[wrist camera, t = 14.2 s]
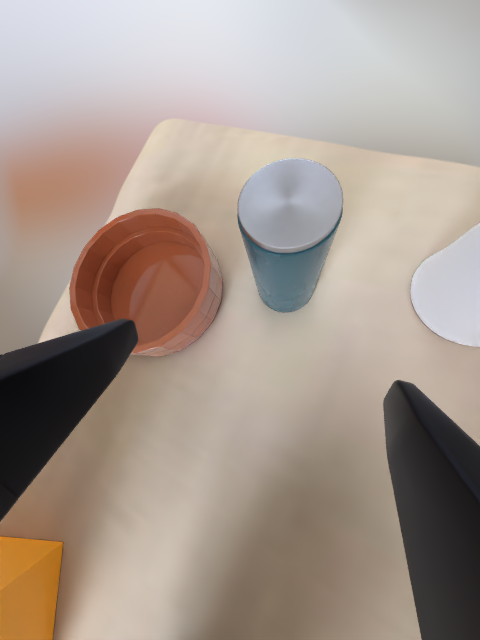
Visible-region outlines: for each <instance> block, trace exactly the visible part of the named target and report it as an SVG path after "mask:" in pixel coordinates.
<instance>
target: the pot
mask: <svg viewBox="0 0 480 640" xmlns="http://www.w3.org/2000/svg"><path fill="white" fill-rule="evenodd" d="M222 283H223V281H222V276H221V272H220V268H219V264H218V261H217V260H216V258H215V256H214V255H213V253H212V251H211V249H210V248H209V246H208V244H207V243H206V241H205V239H204V238H203V237H202V235H201V234H200V232H199V231H198V229H197V228H196V226H195V225H194V224H193V223H191V222H190V221H188V220H187V219H185V218H184V217H182V216H181V215H179V214H178V213H175V212H171V211H167V210H163V209H159V208H158V209H157V208H156V209H142V210H136V211H133V212H130V213H127V214H125V215H122V216H119V217H118V218H115V219H114V220H113V221H111V222H110V223H108V224H107V225H105V226H104V227H102V228H101V229H100V230H99V231H98V232H97V233H96V234H95V235H94V236H93V237H92V239H91V240H90V241H89V242H88V243H87V244H86V246H85V247H84V249H83V251H82V252H81V254H80V256H79V258H78V260H77V262H76V264H75V267H74V269H73V274H72V278H71V283H70V288H69V290H70V304H71V311H72V313H73V316H74V318H75V320H76V323H77V325H78V328H79V329H80V330H81V331H82V330H85V329H88V328H92V327H95V326H98V325H102V324H105V323H108V322H112V321H115V320H118V319H122V318H125V319H129V320H133V321H134V322H135V325H136V329H137V333H138V343H137V345H136V346H135V348H134V349H133V351H132V353H131V355H140V356H156V357H160V356H164V355H168V354H171V353H175V352H178V351H180V350H182V349H184V348H185V347H187V346H188V345H190V344H191V343H193V342H194V341H196V340H197V339H198V338H199V337H200V336H201V335H202V334H203V333H204V331H205V330H206V329H207V328H208V326H209V325H210V324H211V323H212V321H213V319H214V317H215V315H216V312H217V310H218V307H219V305H220V302H221V295H222Z"/></svg>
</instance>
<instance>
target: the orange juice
mask: <svg viewBox="0 0 480 640" xmlns="http://www.w3.org/2000/svg"><path fill="white" fill-rule="evenodd" d="M62 550H63V542H58V541H47V540H36V539H24V538H13V537H2V536H0V640H53V631H54V622H55V613H56V604H57V595H58V586H59V577H60V568H61V559H62Z"/></svg>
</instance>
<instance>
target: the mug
mask: <svg viewBox="0 0 480 640" xmlns="http://www.w3.org/2000/svg"><path fill="white" fill-rule="evenodd" d="M411 300H412V304H413V306H414V309H415V311H416V313H417V314H418V316H419V317H420V319H421V320H422V321H423V322H424V324H425V325H426V326H427V327H429V328H430V329H431V330H432V331H433V332H435V333H436V334H438V335H439V336H441V337H443V338H445V339H447V340H449V341H452V342H455V343H458V344H462V345H467V346H479V347H480V222H479V223H478V224H477V225H475V226H474V227H473V228H471V229H470V230H469V231H467V232H466V233H465V234H463V235H462V236H461V237H459V238H458V239H457V240H456V241H454V242H453V243H452V244H450V245H449V246H448V247H446V248H445V249H443V250H441V251H439V252H437V253H435V254H433V255H431V256H430V257H428V258H427V259H426V260H425V261H424V262H423V263H422V264H421V265H420V266H419V267H418V269H417V270H416V272H415V274H414V276H413V279H412V282H411Z"/></svg>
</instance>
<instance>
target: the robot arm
mask: <svg viewBox="0 0 480 640" xmlns="http://www.w3.org/2000/svg"><path fill="white" fill-rule="evenodd" d="M137 343H138V333H137V329H136V325H135V322H134V321H133V320H129V319H125V318H122V319H118V320H115V321H112V322H108V323H105V324H102V325H98V326H95V327H92V328H88V329H85V330H82V331H78V332H75V333H72V334H68V335H65V336H62V337H58V338H55V339H52V340H48V341H45V342H42V343H38V344H35V345H32V346H28V347H25V348H22V349H18V350H15V351H12V352H8V353H5V354H4V355H0V522H1V520H2V519H3V518H4V517H5V515H6V514H7V513H8V512H9V510H10V509H11V508H12V507H13V505H14V504H15V503H16V501H17V500H18V498H19V497H20V496H21V495H22V494H23V492H24V491H25V490H26V489H27V487H28V486H29V485H30V484H31V482H32V481H33V480H34V479H35V477H36V476H37V475H38V474H39V472H40V471H41V470H42V469H43V467H44V466H45V465H46V464H47V462H48V461H49V460H50V459H51V457H52V456H53V455H54V454H55V452H56V451H57V450H58V448H59V447H60V446H61V445H62V443H63V442H64V441H65V440H66V438H67V437H68V436H69V435H70V433H71V432H72V431H73V430H74V428H75V427H76V426H77V425H78V423H79V422H80V421H81V420H82V418H83V417H84V416H85V415H86V413H87V412H88V411H89V410H90V408H91V407H92V406H93V405H94V403H95V402H96V401H97V400H98V398H99V397H100V396H101V395H102V393H103V392H104V391H105V390H106V388H107V387H108V386H109V384H110V383H111V382H112V381H113V379H114V378H115V377H116V375H117V374H118V372H119V371H120V369H121V368H122V366H123V365H124V363H125V362H126V360H127V359H128V357H129V356H130V354H131V353H132V351H133V349H134V348H135V346H136V345H137ZM383 407H384V421H385V436H386V449H387V457H388V464H389V469H390V474H391V480H392V485H393V490H394V495H395V501H396V506H397V511H398V517H399V522H400V527H401V532H402V538H403V543H404V548H405V554H406V559H407V564H408V569H409V575H410V580H411V585H412V590H413V596H414V601H415V606H416V612H417V617H418V622H419V627H420V633H421V638H422V640H480V446H479V445H478V444H477V443H476V442H475V441H474V440H472V439H471V438H470V437H469V436H468V435H467V434H466V433H465V432H464V431H463V430H462V429H461V428H460V427H459V426H458V425H456V424H455V423H454V422H453V421H452V420H451V419H450V418H449V417H448V416H447V415H446V414H445V413H444V412H443V411H442V410H441V409H439V408H438V407H437V406H436V405H435V404H434V403H433V402H432V401H431V400H430V399H429V398H428V397H427V396H426V395H425V394H423V393H422V392H421V391H420V390H419V389H418V388H417V387H416V386H415V385H414V384H412V383H410V382H405V381H401V380H396V381H395V382H394V383H393V384H392V386H391V388H390V389H389V391H388V393H387V395H386V396H385V398H384V403H383Z"/></svg>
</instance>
